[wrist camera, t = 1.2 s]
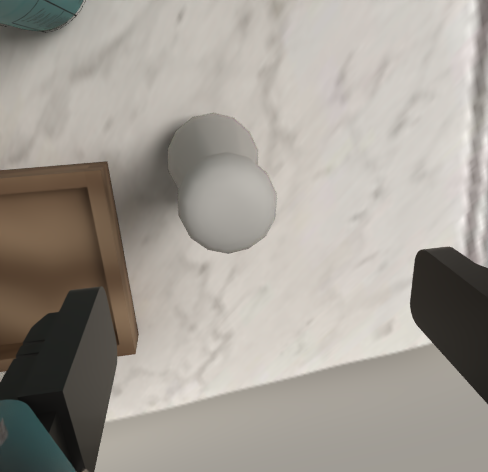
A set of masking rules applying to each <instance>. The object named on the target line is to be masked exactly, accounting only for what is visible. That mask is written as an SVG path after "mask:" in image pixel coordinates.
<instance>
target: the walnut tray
mask: <svg viewBox="0 0 488 472" xmlns="http://www.w3.org/2000/svg"><path fill="white" fill-rule="evenodd" d="M101 286H102V287H103V288H104V290H105V292H106V296H107V300H108V305H109V310H110V314H111V319H112V324H113V328H114V333H115V337H116V343H117V356H125V355H132V354H136V348H137V341H138V335H139V334H138V329H137V323H136V318H135V312H134V307H133V301H132V295H131V290H130V284H129V279H128V273H127V268H126V262H125V257H124V251H123V246H122V240H121V235H120V229H119V224H118V218H117V213H116V207H115V202H114V196H113V191H112V185H111V180H110V174H109V169H108V163H107V162H96V163H84V164H72V165H60V166H48V167H35V168H23V169H11V170H0V372H3V371H7V370H8V368H9V366H10V364H11V363H12V361H13V359H16V354H17V352H18V350H19V348H20V347H21V346H22V345H23V341H24V339H25V338H26V336H27V334H28V332H29V331H30V329H31V327H32V326H33V325H35V324H36V323H37V322H38V321H39V320H41V319H42V318H43V317H44V316H45V315H46V314H48V313H54V312H59V310H60V308H61V306H62V304H63V302H64V300H65V298H66V296H67V294H68V292H69V291H70V290H75V289H84V288H92V287H101Z"/></svg>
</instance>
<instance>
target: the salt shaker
mask: <svg viewBox="0 0 488 472" xmlns="http://www.w3.org/2000/svg"><path fill="white" fill-rule="evenodd" d="M168 171H169V173H170V174H171V176H172V178H173V180H174V182H175V184H176V186H177V188H178V189H179V190H178V211H179V217H180V219H181V221H182V223H183V224H184V226H185V228H186V230H187V232H188V234H189V236H190V237H191V238H192V239H193V240H194V241H196V242H197V243H199V244H200V245H202V246H203V247H205V248H206V249H208V250H212V251H217V252H222V253H228V254H229V253H233V252H237V251H241V250H245V249H249V248H250V247H252V246H253V245H254V244H256V243H257V242H258V241H260V240H261V239H263V238H264V237H265V236H266V234H267V233H268V231H269V229H270V227H271V225H272V223H273V222H274V220H275V216H276V202H277V195H276V191H275V189H274V187H273V185H272V182H271V180H270V178H269V175H268V173H267V172H265V171H264V170H263V169H262V168H261V167H260V166H258V149H257V147H256V145H255V142H254V140H253V138H252V136H251V134H250V132H249V131H248V130H247V129H246V128H245V127H244V126H243V125H242V124H240V123H239V122H238V121H237V120H236V119H235V118H233V117H228V116H224V115H220V114H216V113H210V114H206V115H201V116H196V117H192V118H191V119H190V120H189V121H188V122H186V123H185V124H184V125H183V126H181V127H180V128H179V129H178V130H177V131H176V132H175V135H174V137H173V139H172V141H171V143H170V146H169V148H168Z"/></svg>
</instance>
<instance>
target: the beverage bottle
mask: <svg viewBox="0 0 488 472" xmlns="http://www.w3.org/2000/svg"><path fill="white" fill-rule="evenodd" d="M85 1H86V0H85ZM82 2H83V0H0V23H2V24H6V25H10V26H13V27H17V28H21V29H26V30H32V31H42V30H49V29H50V30H52V29H53V28H56V29H57V27H58V26H60V25H61V26H62V24H63V25H64V23H65V24H66V23H67V21H68V20H69V19H71V18H72V17H73V16H75V17H76V16H77V15H75V13H76V12H77V11H78V9H79V8H80V6H81V4H82ZM84 3H85V2H84ZM83 5H84V4H83ZM82 7H83V6H82ZM81 9H82V8H81ZM79 12H80V11H79ZM79 12H78V13H79ZM75 17H74V18H75ZM74 18H73V19H74ZM73 19H72V20H73ZM72 20H71V21H72ZM71 21H70V22H71ZM66 25H67V24H66ZM1 26H2V25H1ZM6 27H7V26H6ZM63 27H64V26H63ZM58 28H59V27H58ZM61 28H62V27H61ZM57 30H58V29H57ZM54 31H55V30H54ZM42 32H44V31H42ZM51 32H52V31H51ZM45 33H46V32H45Z"/></svg>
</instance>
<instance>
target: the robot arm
mask: <svg viewBox="0 0 488 472" xmlns="http://www.w3.org/2000/svg"><path fill="white" fill-rule="evenodd" d="M410 308H411V313H412V317H413V319H414V321H415V323H416V325H417V326H418V327H419V328H420V329H421V330H422V331H423V333H424V334H425V335H426V336H427V337H428V338H429V339H430V340H431V341H432V343H433V344H434V345H435V346H436V347H437V348H438V349H439V350H440V351H441V352H442V354H443V355H444V356H445V357H446V358H447V359H448V360H449V361H450V362H451V364H452V365H453V366H454V367H455V368H456V369H457V370H458V371H459V373H460V374H461V375H462V376H463V377H464V378H465V379H466V380H467V382H468V383H469V384H470V385H471V386H472V387H473V388H474V389H475V390H476V392H477V393H478V394H479V395H480V396H481V397H482V398H483V399H484V400H485V402H487V404H488V268H486V267H483V266H480V265H478V264H476V263H474V262H473V261H471V260H470V259H468V258H467V257H465V256H464V255H462V254H461V253H459V252H458V251H456V250H455V249H454V248H452V247H440V248H432V249H423V250H420V251H418V253H417V255H416V257H415V264H414V272H413V281H412V290H411V299H410ZM116 366H117V343H116V337H115V333H114V328H113V324H112V319H111V314H110V310H109V305H108V300H107V296H106V292H105V290H104V288H103V287H102V286H101V287H92V288H84V289H75V290H70V291H69V292H68V294H67V296H66V298H65V300H64V302H63V304H62V306H61V308H60V310H59V312H54V313H48V314H46V315H45V316H44V317H43V318H42V319H41V320H39V321H38V322H37V323H36V324H35V325H33V326H32V327H31V329H30V331H29V332H28V334H27V336H26V338H25V339H24V341H23V345H22V346H21V347H20V348H19V350H18V352H17V354H16V359H13V361H12V363H11V364H10V366H9V368H8V370H7V371H6V373H5V375H4V377H3V379H2V380H1V382H0V472H94V470H95V465H96V461H97V456H98V451H99V446H100V442H101V437H102V432H103V428H104V423H105V418H106V413H107V409H108V404H109V399H110V394H111V390H112V385H113V380H114V375H115V371H116Z"/></svg>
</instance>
